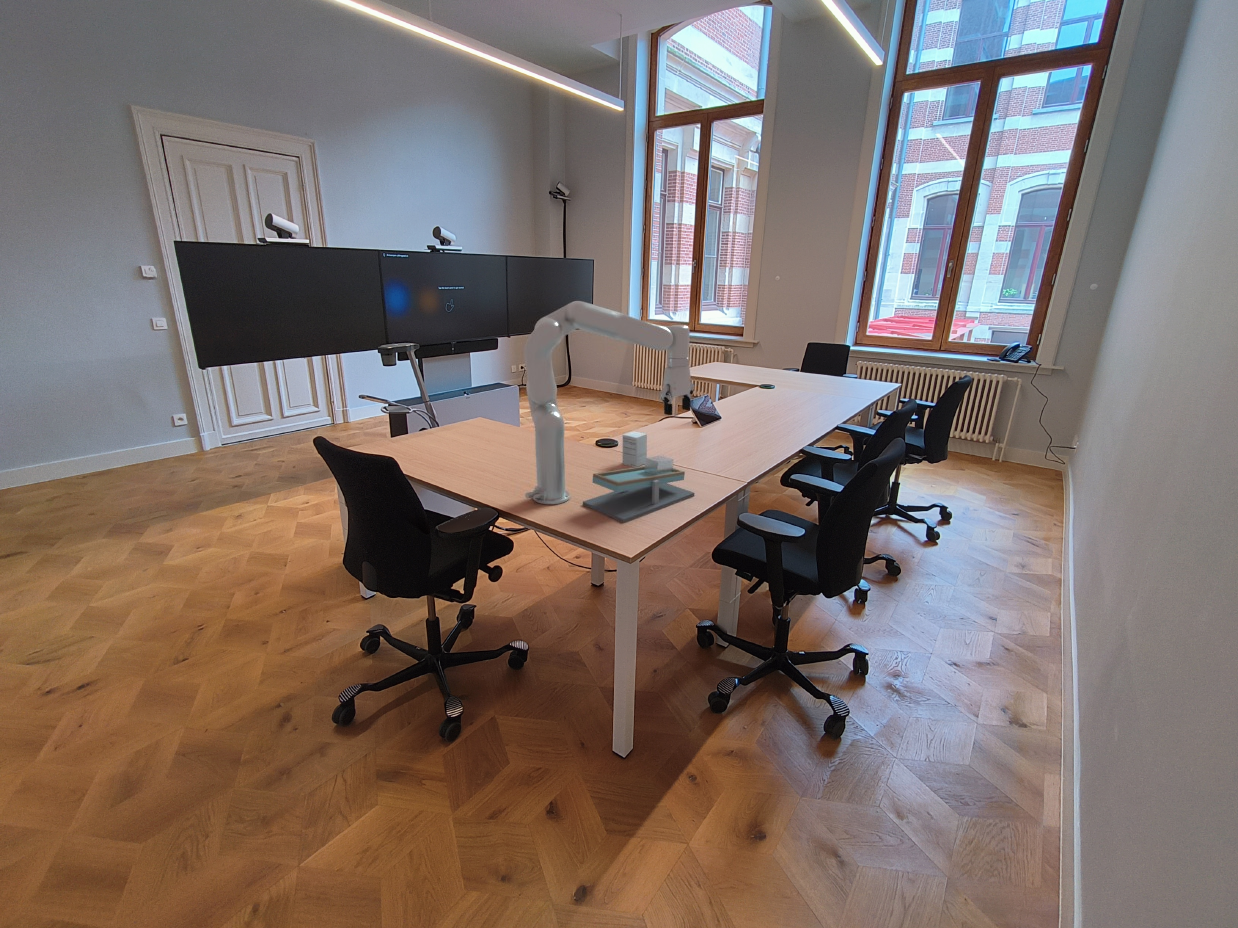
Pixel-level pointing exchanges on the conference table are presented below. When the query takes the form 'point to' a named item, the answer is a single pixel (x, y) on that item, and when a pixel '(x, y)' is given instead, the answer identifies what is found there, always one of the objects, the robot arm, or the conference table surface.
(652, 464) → the steel block
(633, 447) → the supplement box
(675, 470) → the beam
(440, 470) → the conference table surface
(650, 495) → the stand
